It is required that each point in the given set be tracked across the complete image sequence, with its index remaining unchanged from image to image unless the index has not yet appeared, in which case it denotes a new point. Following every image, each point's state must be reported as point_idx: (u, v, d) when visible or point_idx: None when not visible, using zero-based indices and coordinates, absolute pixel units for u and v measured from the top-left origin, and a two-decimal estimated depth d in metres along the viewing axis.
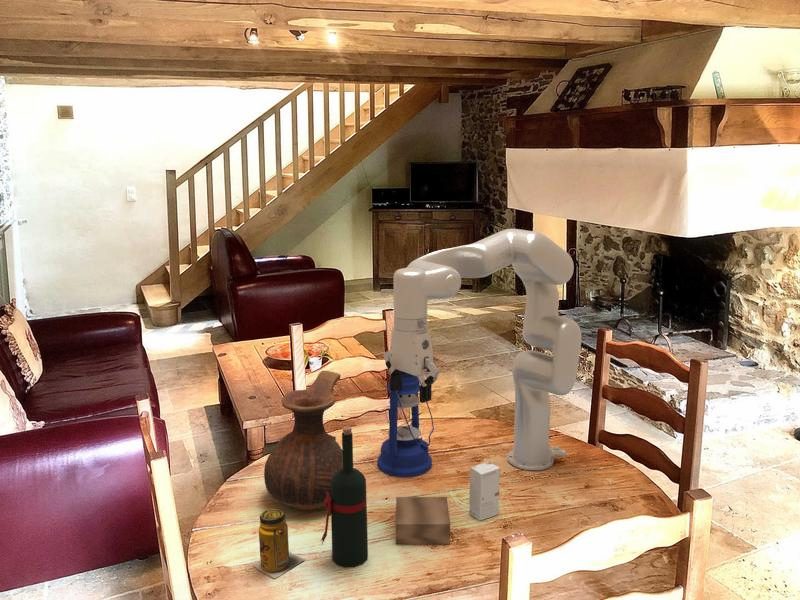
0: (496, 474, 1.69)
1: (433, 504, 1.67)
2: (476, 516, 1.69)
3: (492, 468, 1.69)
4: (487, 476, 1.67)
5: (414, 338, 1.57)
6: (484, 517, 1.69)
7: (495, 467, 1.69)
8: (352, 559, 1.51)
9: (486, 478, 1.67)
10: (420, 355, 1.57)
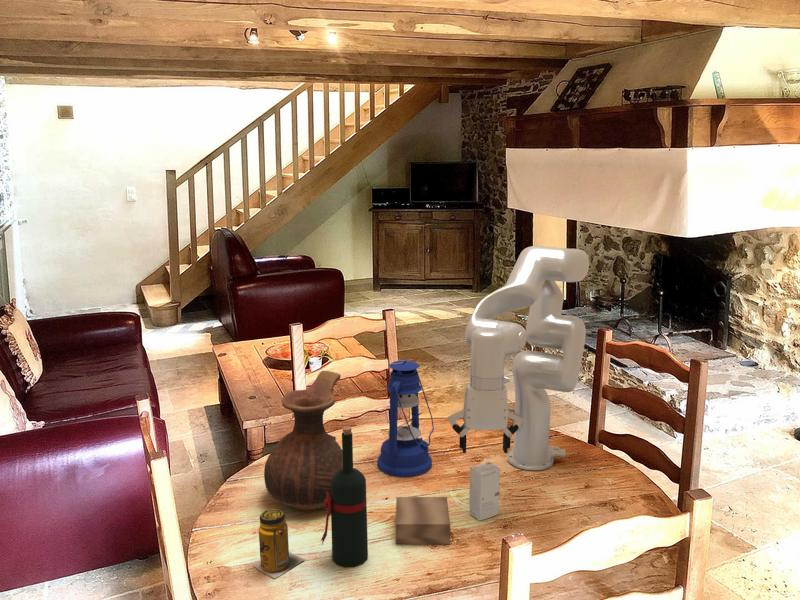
0: (496, 474, 1.69)
1: (433, 504, 1.67)
2: (476, 516, 1.69)
3: (492, 468, 1.69)
4: (487, 476, 1.67)
5: (502, 394, 1.62)
6: (484, 517, 1.69)
7: (495, 467, 1.69)
8: (352, 559, 1.51)
9: (486, 478, 1.67)
10: (507, 408, 1.64)
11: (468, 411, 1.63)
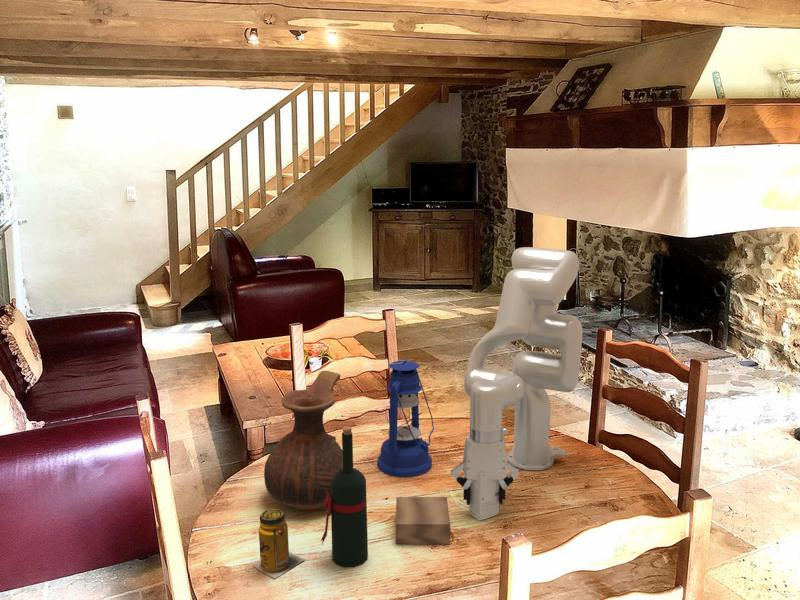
0: None
1: (433, 504, 1.67)
2: (476, 516, 1.69)
3: None
4: None
5: (501, 446, 1.66)
6: (484, 517, 1.69)
7: None
8: (352, 559, 1.51)
9: (486, 478, 1.67)
10: (506, 459, 1.67)
11: (468, 462, 1.67)
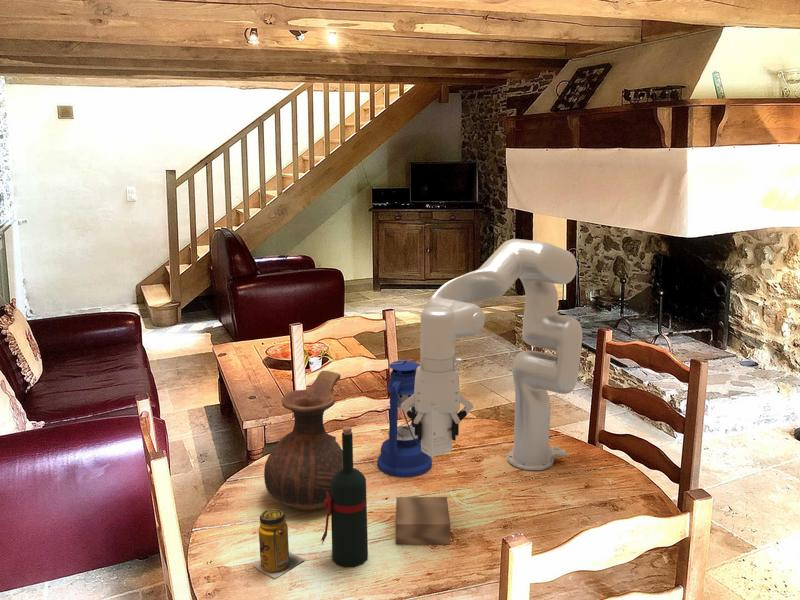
0: None
1: (433, 504, 1.67)
2: (428, 452, 1.59)
3: None
4: None
5: (453, 376, 1.56)
6: (436, 453, 1.59)
7: None
8: (352, 559, 1.51)
9: (437, 411, 1.57)
10: (459, 391, 1.57)
11: (418, 394, 1.57)
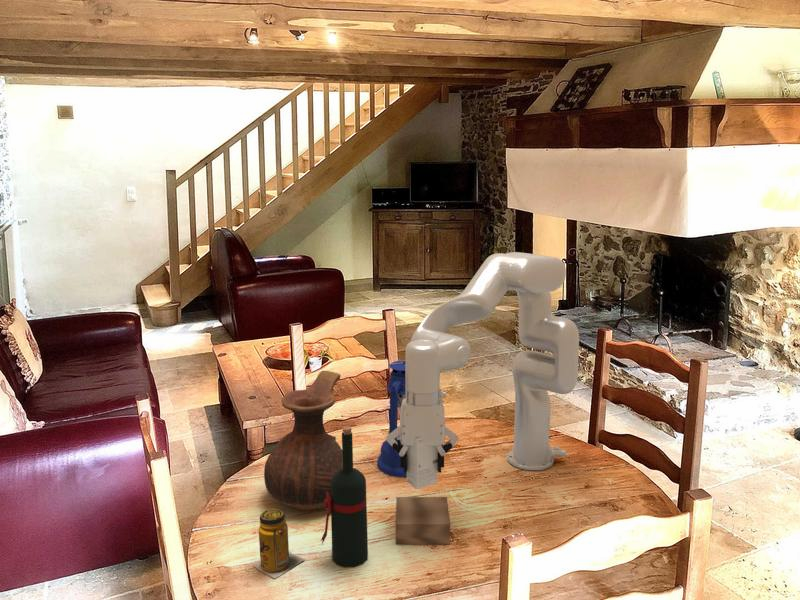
0: None
1: (433, 504, 1.67)
2: (413, 484, 1.60)
3: None
4: None
5: (438, 409, 1.56)
6: (421, 485, 1.59)
7: None
8: (352, 559, 1.51)
9: (422, 444, 1.58)
10: (444, 424, 1.57)
11: (403, 427, 1.57)
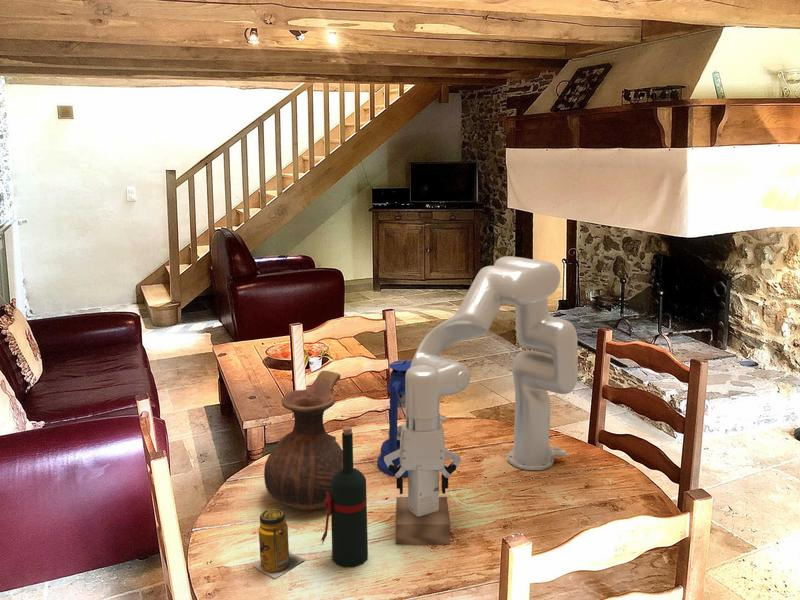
0: None
1: None
2: (414, 512, 1.62)
3: None
4: (425, 470, 1.60)
5: (438, 435, 1.57)
6: (423, 513, 1.61)
7: None
8: (352, 559, 1.51)
9: (423, 472, 1.60)
10: (444, 449, 1.59)
11: (403, 452, 1.58)
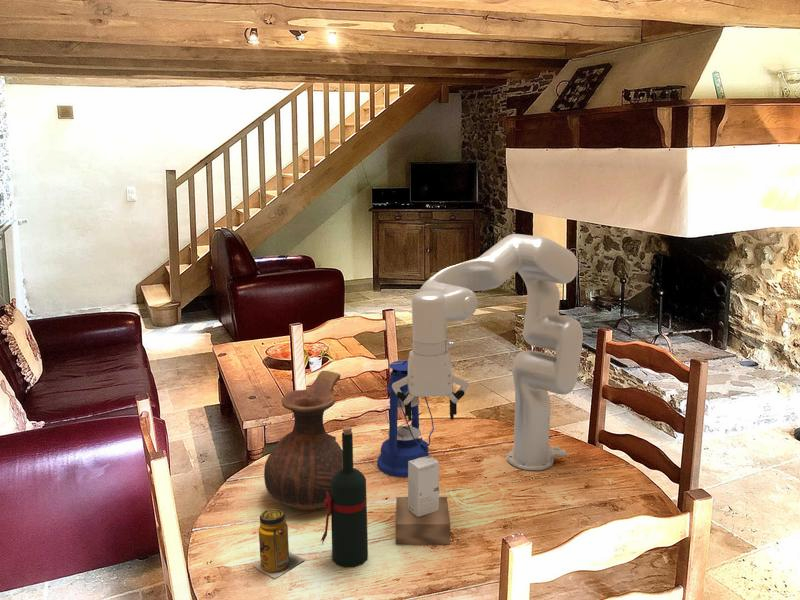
0: (435, 468, 1.61)
1: None
2: (414, 512, 1.62)
3: (431, 462, 1.61)
4: (425, 470, 1.60)
5: (445, 359, 1.58)
6: (423, 513, 1.61)
7: (434, 461, 1.62)
8: (352, 559, 1.51)
9: (423, 472, 1.60)
10: (451, 374, 1.59)
11: (411, 378, 1.59)
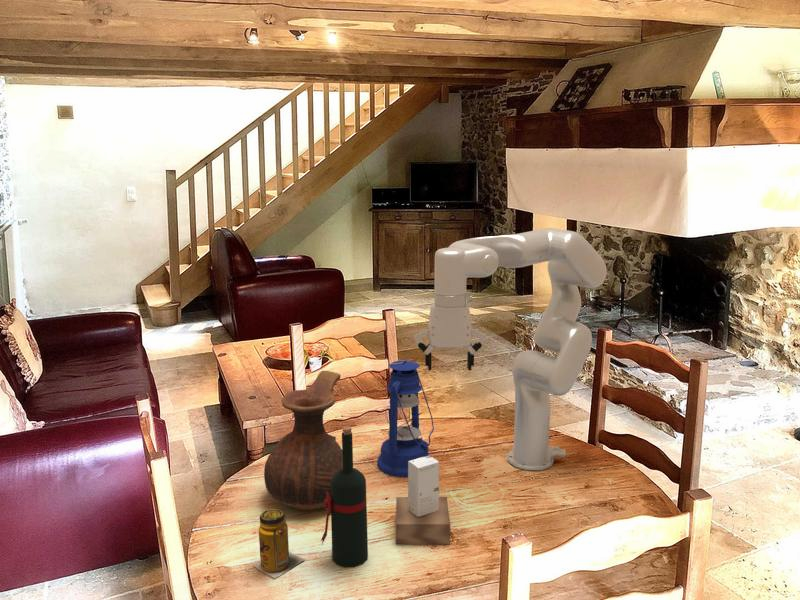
0: (435, 468, 1.61)
1: None
2: (414, 512, 1.62)
3: (431, 462, 1.61)
4: (425, 470, 1.60)
5: (465, 312, 1.68)
6: (423, 513, 1.61)
7: (434, 461, 1.62)
8: (352, 559, 1.51)
9: (423, 472, 1.60)
10: (470, 326, 1.70)
11: (432, 329, 1.69)
